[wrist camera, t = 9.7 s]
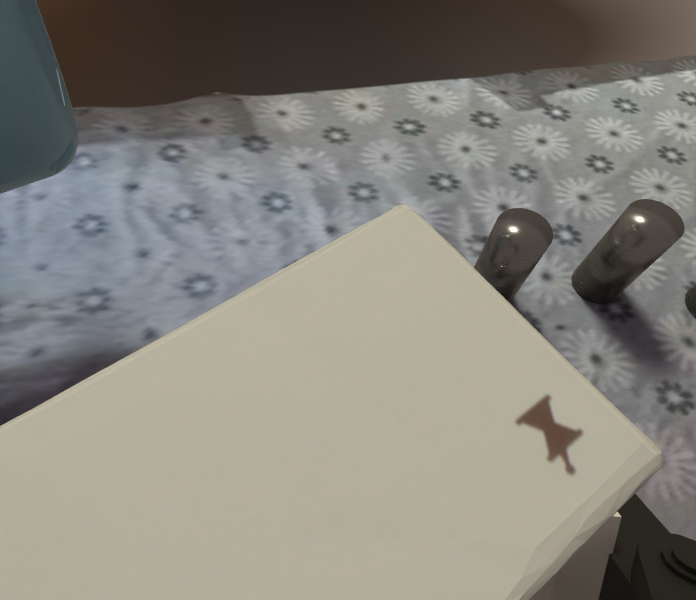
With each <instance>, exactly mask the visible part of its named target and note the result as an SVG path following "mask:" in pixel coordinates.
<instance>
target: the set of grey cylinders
mask: <svg viewBox="0 0 696 600" xmlns="http://www.w3.org/2000/svg"><path fill="white" fill-rule="evenodd" d="M683 233H684V223H683V221H682V219H681V217H680V216H679V215H678V214H677V213H676V212H675V211H674V210H673V209H672V208H670V207H669V206H667V205H665V204H663V203H661V202H658V201H655V200H649V199H642V200H637V201H635V202H633V203H631V204H630V205H629V207H628V208H627V209H626V210H625V211H624V213H623V214H622V215H621V216H620V217H619V219H618V220H617V221H616V222H615V223H614V225H613V226H612V227H611V228H610V229H609V230H608V232H607V233H606V234H605V235H604V236H603V238H602V239H601V240H600V241H599V242H598V244H597V245H596V246H595V247H594V248H593V250H592V251H591V252H590V253H589V254H588V256H587V257H586V258H585V259H584V260H583V262H582V263H581V264H580V265H579V266H578V268H577V269H576V270H575V271H574V273H573V275H572V284H573V287H574V289H575V290H576V292H577V293H578V294H579V295H580V296H581V297H583V298H584V299H586V300H588V301H590V302H593V303H598V304H605V303H608V302H611V301H612V300H614V299H615V298H616V297H617V296H618V295H619V294H620V293H621V292H622V291H623V290H624V289H625V288H627V287H628V286H629V285H630V284H631V283H632V282H633V281H634V280H635V279H636V278H637V277H638V276H639V275H641V274H642V273H643V272H644V271H645V270H646V269H647V268H648V267H649V266H650V265H651V264H652V263H653V262H655V261H656V260H657V259H658V258H659V257H660V256H661V255H662V254H663V253H664V252H665V251H666V250H667V249H669V248H670V247H671V246H672V245H673V244H674V243H675V242H676V241H677V240H678V239H679V238H680V237H681V236H682V235H683ZM552 239H553V231H552V228H551V226H550V224H549V223H548V222H547V220H546V219H545V218H544V217H542V216H541V215H539V214H538V213H536V212H534V211H531V210H528V209H523V208H514V209H509V210H507V211H505V212H503V213H502V214H501V215H500V216H499V217H498V219H497V221H496V223H495V225H494V227H493V229H492V231H491V233H490V235H489V237H488V239H487V242H486V244H485V246H484V248H483V250H482V252H481V254H480V256H479V258H478V260H477V262H476V264H475V267H474V269H475V270H476V271H477V272H478V273H479V274H480V275H481V276H482V277H483V278H484V279H485V280H486V281H487V282H488V283H490V284H491V285H492V286H493V287H494V288H495V289H496V290H497V291H498V292H499V293H500V294H501V295H502V296H503V297H504V298H505V299H506V300H507V301H508V302H509V303H510V302H511V301H512V299H513V298H514V296H515V295H516V293H517V292H518V290H519V289H520V288H521V286H522V285H523V283H524V282H525V280H526V279H527V277H528V276H529V274H530V273H531V272H532V270H533V269H534V267H535V266H536V264H537V263H538V261H539V260H540V258H541V257H542V256H543V254H544V253H545V251H546V250H547V248H548V247H549V245H550V244H551V242H552ZM685 301H686V305H687V307H688V309H689V311H690V312H691V313H692V314H693V315H694V316H695V317H696V286H694V287H693V288H692V289H690V290H689V291H688V292H687V294H686V297H685Z"/></svg>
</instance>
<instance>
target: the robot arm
mask: <svg viewBox="0 0 696 600" xmlns="http://www.w3.org/2000/svg"><path fill="white" fill-rule="evenodd" d="M77 146H78V132H77V126H76V121H75V117H74V113H73V109H72V106H71V103H70V99H69V96H68V93H67V90H66V87H65V83H64V80H63V77H62V74H61V71H60V68H59V65H58V62H57V60H56V56H55V54H54V51H53V48H52V45H51V42H50V39H49V37H48V34H47V31H46V28H45V25H44V23H43V20H42V17H41V14H40V12H39V9H38V6H37V4H36V1H35V0H0V194H1V193H4V192H7V191H10V190H13V189H15V188H18V187H21V186H24V185H27V184H30V183H33V182H36V181H39V180H42V179H45V178H48V177H51V176H53V175H55V174H57V173H59V172H61V171H62V170H64V169H65V168H66V167H67V166H68V165H69V164H70V163H71V161H72V160H73V158H74V156H75V153H76V150H77ZM530 600H696V541H694V540H692V539H689V538H686V537H684V536H681V535H677V534H671V533H670V532H669V531H668V530H667V529H666V528H665V527H664V526H663V524H662V523H661V522H660V521H659V520H658V519H657V518H656V517H655V516H654V514H653V513H652V512H651V511H650V510H649V509H648V508H647V507H646V505H645V504H644V503H643V502H642V501H641V500H640V499H639V498H638V496H637V495H636V494H634V495H633V496H632V497H631V498H630V499H629V500H628V501H627V502H626V503H625V504H624V505H623V506H622V507H621V508H620V509H619V510H618V511H617V512H616V513H615V514H614V515H613V516H612V517H611V518H610V519H609V520H608V521H607V522H606V523H605V524H604V526H603V527H602V528H601V529H600V530H599V531H598V532H597V533H596V534H595V535H594V536H593V537H592V538H591V539H590V540H589V541H588V542H587V543H586V544H585V545H584V546H583V547H582V548H581V549H580V550H579V551H578V552H577V553H576V554H575V555H574V556H573V557H572V558H571V559H570V560H569V561H568V562H567V563H566V564H565V565H564V566H563V567H562V568H561V569H560V570H559V571H558V572H557V573H556V574H555V575H554V576H553V577H552V578H551V579H550V580H549V581H548V582H547V583H546V584H545V585H544V586H543V587H542V588H541V589H540V590H539V591H538V592H537V593H536V594H535V595H534V596H533V597H532V598H531V599H530Z"/></svg>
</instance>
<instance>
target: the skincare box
mask: <svg viewBox="0 0 696 600" xmlns="http://www.w3.org/2000/svg"><path fill="white" fill-rule="evenodd" d="M662 463H663V456H662V452H661V450H660V448H659V447H658V446H657V445H656V444H655V443H653V442H652V441H651V440H650V439H649V438H648V437H647V436H646V435H645V434H643V433H642V432H641V431H640V430H639V429H638V428H637V427H636V426H635V425H634V424H633V423H632V422H631V421H630V420H628V419H627V418H626V417H625V416H624V415H623V414H622V413H621V412H620V411H619V410H618V409H617V408H616V407H615V406H614V405H613V404H612V403H611V402H609V401H608V400H607V399H606V398H605V397H604V396H603V395H602V394H601V393H600V392H599V391H598V390H597V389H596V388H595V387H594V386H593V385H592V384H591V383H590V382H589V381H588V380H587V379H586V378H585V377H584V376H583V375H582V374H581V373H580V372H579V371H578V370H576V369H575V368H574V367H573V366H572V365H571V364H570V363H569V362H568V361H567V360H566V359H565V358H564V357H563V356H562V355H561V354H560V353H559V352H558V351H557V350H556V349H555V348H554V347H553V346H552V345H551V344H550V343H549V342H548V341H547V340H546V339H545V338H544V337H543V336H542V335H541V334H540V333H539V332H538V331H537V330H536V329H535V328H534V327H533V326H532V325H531V324H530V323H529V322H528V321H527V320H526V319H525V318H524V317H523V316H522V315H521V314H520V313H519V312H518V311H517V310H516V309H515V308H514V307H513V306H512V305H511V304H510V303H509V302H508V301H507V300H506V299H505V298H504V297H503V296H502V295H501V294H500V293H499V292H498V291H497V290H496V289H495V288H494V287H493V286H492V285H491V284H490V283H488V282H487V281H486V280H485V279H484V278H483V277H482V276H481V275H480V274H479V273H478V272H477V271H476V270H475V269H474V267H473V266H472V265H471V264H470V263H468V262H467V261H466V260H465V259H464V258H463V257H462V256H461V255H460V254H459V253H458V252H457V251H456V250H455V249H454V248H453V247H452V246H451V245H450V244H449V243H448V242H447V241H446V240H445V239H444V238H443V237H442V236H441V235H440V234H438V233H437V232H436V231H435V230H434V229H433V228H432V227H431V226H430V225H429V224H428V223H427V222H426V221H424V220H423V219H422V218H421V217H420V216H419V215H418V214H417V213H416V212H414V211H413V210H412V209H411V208H410V207H409V206H407V205H399V206H396V207H394V208H393V209H391V210H389V211H388V212H386V213H384V214H383V215H381V216H379V217H377V218H375V219H374V220H372V221H370V222H368V223H366V224H364V225H362V226H361V227H359V228H357V229H355V230H353V231H352V232H350V233H348V234H346V235H344V236H343V237H341V238H339V239H337V240H335V241H334V242H332V243H330V244H328V245H326V246H324V247H323V248H321V249H319V250H317V251H315V252H313V253H311V254H310V255H308V256H306V257H304V258H302V259H300V260H299V261H297V262H295V263H293V264H291V265H290V266H288V267H286V268H284V269H283V270H281V271H279V272H277V273H275V274H274V275H272V276H270V277H268V278H266V279H265V280H263V281H261V282H259V283H257V284H256V285H254V286H252V287H250V288H249V289H247V290H245V291H243V292H241V293H240V294H238V295H236V296H234V297H233V298H231V299H229V300H227V301H225V302H224V303H222V304H220V305H218V306H217V307H215V308H213V309H211V310H210V311H208V312H206V313H204V314H202V315H201V316H199V317H197V318H195V319H194V320H192V321H190V322H188V323H186V324H185V325H183V326H181V327H179V328H178V329H176V330H174V331H172V332H170V333H169V334H167V335H165V336H163V337H162V338H160V339H158V340H156V341H154V342H152V343H151V344H149V345H147V346H145V347H143V348H141V349H140V350H138V351H136V352H134V353H132V354H130V355H129V356H127V357H125V358H123V359H121V360H119V361H118V362H116V363H114V364H112V365H110V366H108V367H107V368H105V369H103V370H101V371H99V372H97V373H96V374H94V375H92V376H90V377H88V378H87V379H85V380H83V381H81V382H80V383H78V384H76V385H74V386H72V387H71V388H69V389H67V390H65V391H63V392H62V393H60V394H58V395H56V396H54V397H53V398H51V399H49V400H47V401H45V402H44V403H42V404H40V405H38V406H37V407H35V408H33V409H31V410H29V411H27V412H25V413H24V414H22V415H20V416H18V417H16V418H14V419H12V420H11V421H9V422H7V423H5V424H3V425H1V426H0V600H530V599H531V598H532V597H533V596H534V595H535V594H536V593H537V592H538V591H539V590H540V589H541V588H542V587H543V586H544V585H545V584H546V583H547V582H548V581H549V580H550V579H551V578H552V577H553V576H554V575H555V574H556V573H557V572H558V571H559V570H560V569H561V568H562V567H563V566H564V565H565V564H566V563H567V562H568V561H569V560H570V559H571V558H572V557H573V556H574V555H575V554H576V553H577V552H578V551H579V550H580V549H581V548H582V547H583V546H584V545H585V544H586V543H587V542H588V541H589V540H590V539H591V538H592V537H593V536H594V535H595V534H596V533H597V532H598V531H599V530H600V529H601V528H602V527H603V526H604V524H605V523H606V522H607V521H608V520H609V519H610V518H611V517H612V516H613V515H614V514H615V513H616V512H617V511H618V510H619V509H620V508H621V507H622V506H623V505H624V504H625V503H626V502H627V501H628V500H629V499H630V498H631V497H632V496H633V495H634V494H635V493H636V492H637V491H638V490H639V489H640V488H641V487H642V486H643V485H644V484H645V483H646V482H647V481H648V480H649V479H650V478H651V477H652V476H653V475H654V474H655V473H656V472H657V470H658V469H659V468H660V467H661V466H662Z"/></svg>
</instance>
